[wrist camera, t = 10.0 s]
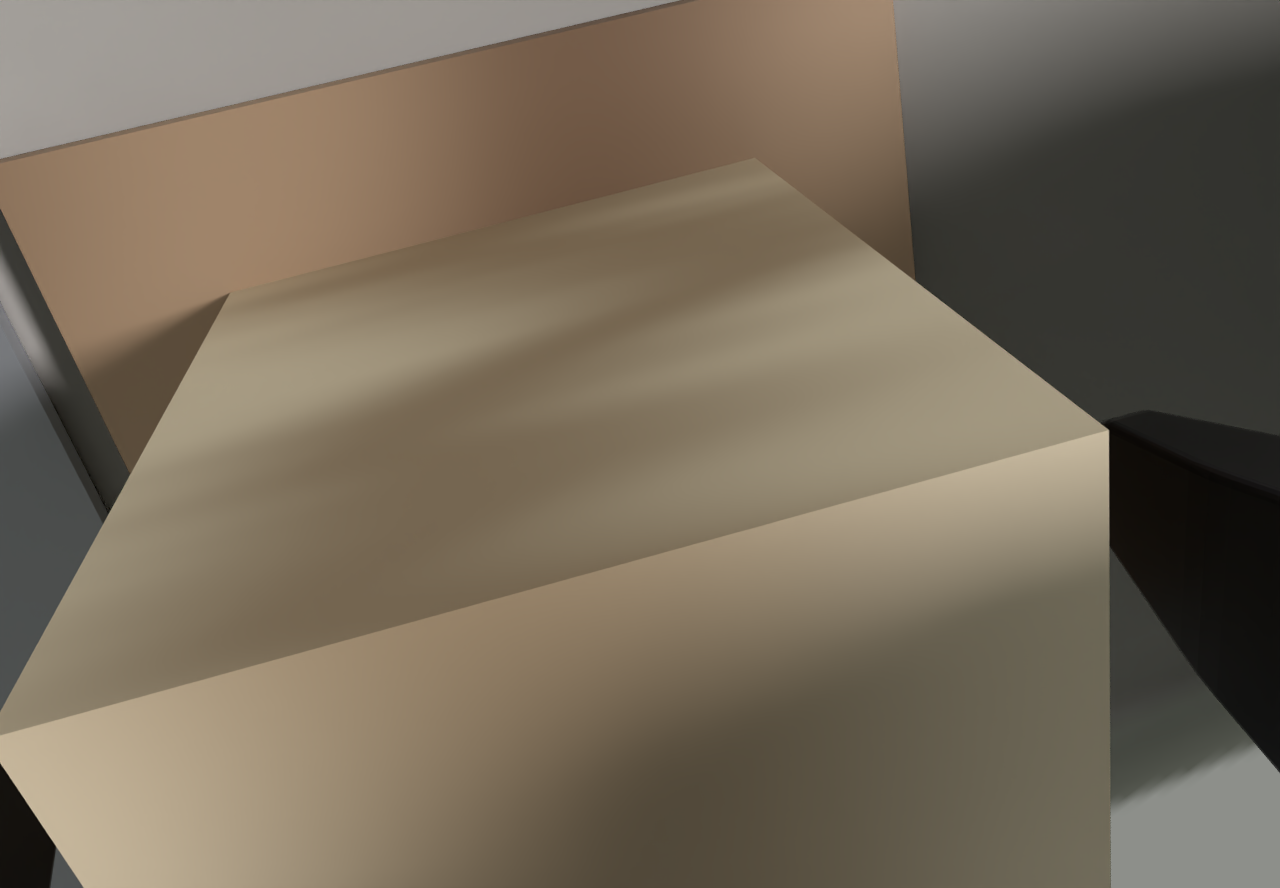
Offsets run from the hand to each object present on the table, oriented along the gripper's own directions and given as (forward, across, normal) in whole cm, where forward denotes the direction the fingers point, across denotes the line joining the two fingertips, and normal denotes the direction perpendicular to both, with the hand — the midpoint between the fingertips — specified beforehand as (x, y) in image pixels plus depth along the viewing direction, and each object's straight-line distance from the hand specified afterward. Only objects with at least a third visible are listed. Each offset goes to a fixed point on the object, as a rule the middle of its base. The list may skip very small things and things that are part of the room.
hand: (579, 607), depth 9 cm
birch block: (+3, 0, 0) cm, 3 cm away
